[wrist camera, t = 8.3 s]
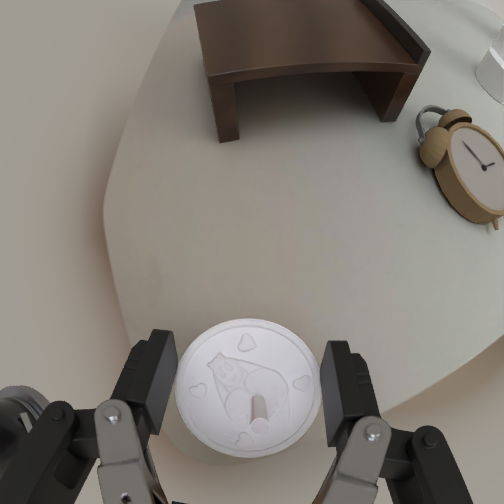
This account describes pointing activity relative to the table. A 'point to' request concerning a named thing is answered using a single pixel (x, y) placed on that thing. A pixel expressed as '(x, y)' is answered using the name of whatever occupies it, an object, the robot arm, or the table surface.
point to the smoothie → (248, 388)
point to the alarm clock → (465, 164)
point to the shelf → (307, 49)
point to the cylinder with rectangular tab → (493, 69)
